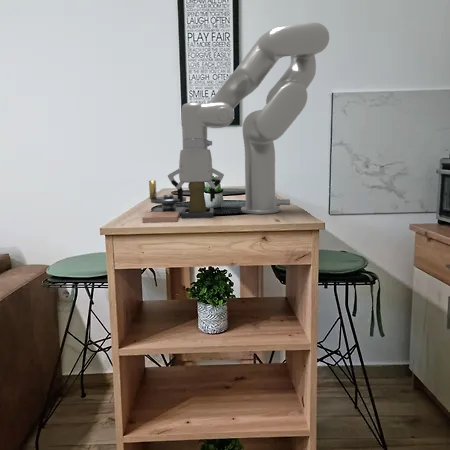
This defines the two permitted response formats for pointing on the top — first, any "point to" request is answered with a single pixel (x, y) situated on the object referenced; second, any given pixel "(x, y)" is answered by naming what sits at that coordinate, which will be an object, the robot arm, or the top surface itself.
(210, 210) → the collar
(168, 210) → the hub
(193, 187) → the cork
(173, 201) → the handwheel
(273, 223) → the top surface
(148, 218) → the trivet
